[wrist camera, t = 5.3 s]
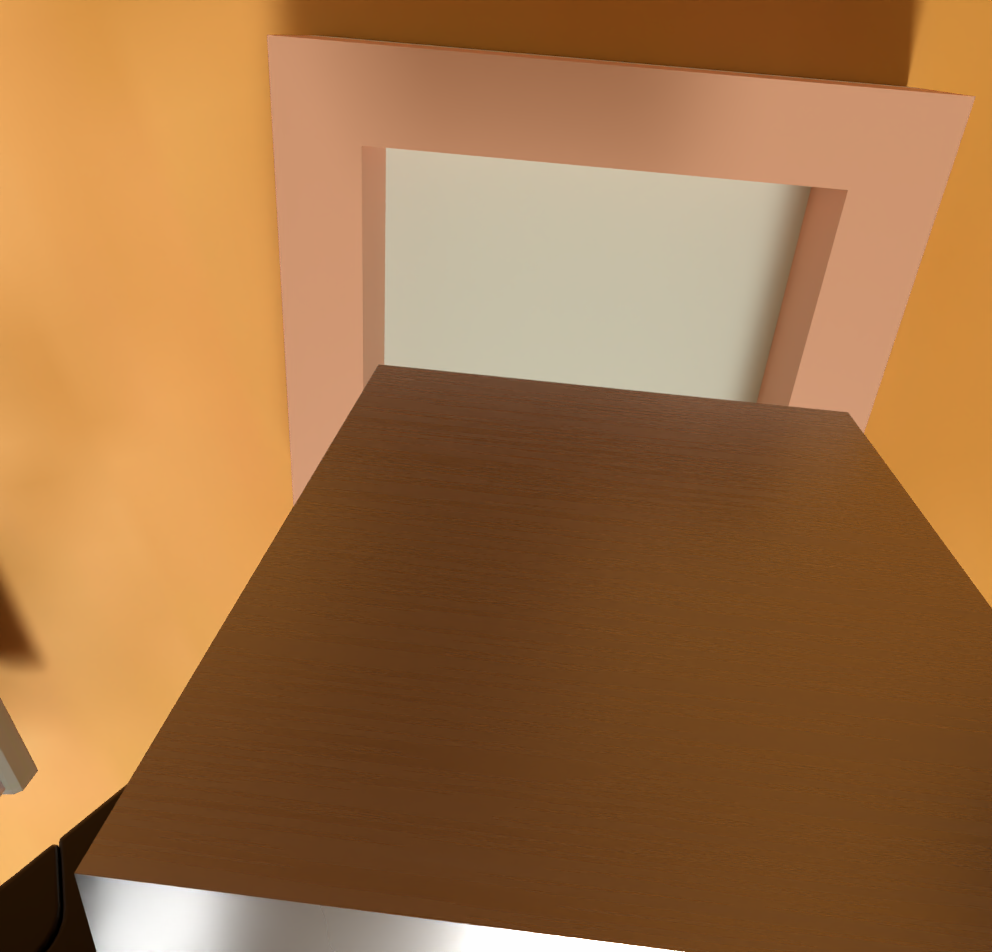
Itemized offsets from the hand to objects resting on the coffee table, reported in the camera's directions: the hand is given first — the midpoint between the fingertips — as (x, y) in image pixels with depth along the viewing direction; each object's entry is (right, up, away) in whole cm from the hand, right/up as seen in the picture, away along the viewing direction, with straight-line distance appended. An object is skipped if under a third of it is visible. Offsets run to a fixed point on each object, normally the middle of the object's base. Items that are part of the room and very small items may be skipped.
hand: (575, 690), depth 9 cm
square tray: (+1, +5, +9) cm, 10 cm away
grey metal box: (0, +1, +1) cm, 1 cm away
